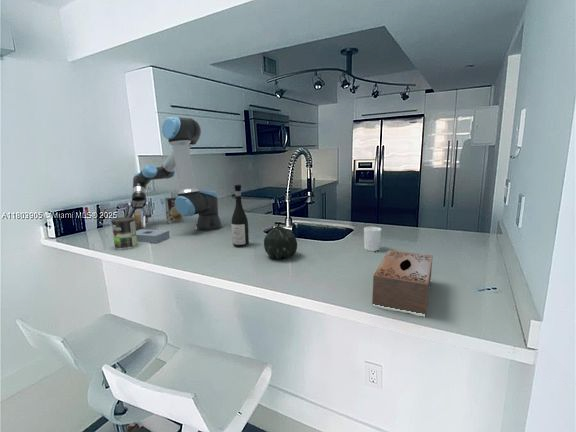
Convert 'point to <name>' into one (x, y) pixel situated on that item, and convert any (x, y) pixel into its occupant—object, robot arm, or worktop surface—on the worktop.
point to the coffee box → (172, 211)
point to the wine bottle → (239, 222)
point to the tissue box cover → (403, 281)
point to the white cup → (372, 238)
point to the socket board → (152, 235)
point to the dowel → (137, 220)
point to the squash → (280, 243)
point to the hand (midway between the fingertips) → (137, 227)
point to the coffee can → (124, 233)
